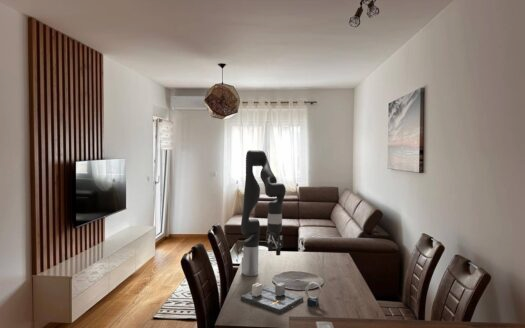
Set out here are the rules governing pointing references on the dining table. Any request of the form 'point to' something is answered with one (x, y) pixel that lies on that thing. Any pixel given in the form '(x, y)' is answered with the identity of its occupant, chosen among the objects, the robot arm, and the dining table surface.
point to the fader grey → (280, 289)
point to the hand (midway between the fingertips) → (274, 253)
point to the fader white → (257, 289)
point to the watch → (312, 300)
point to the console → (273, 299)
